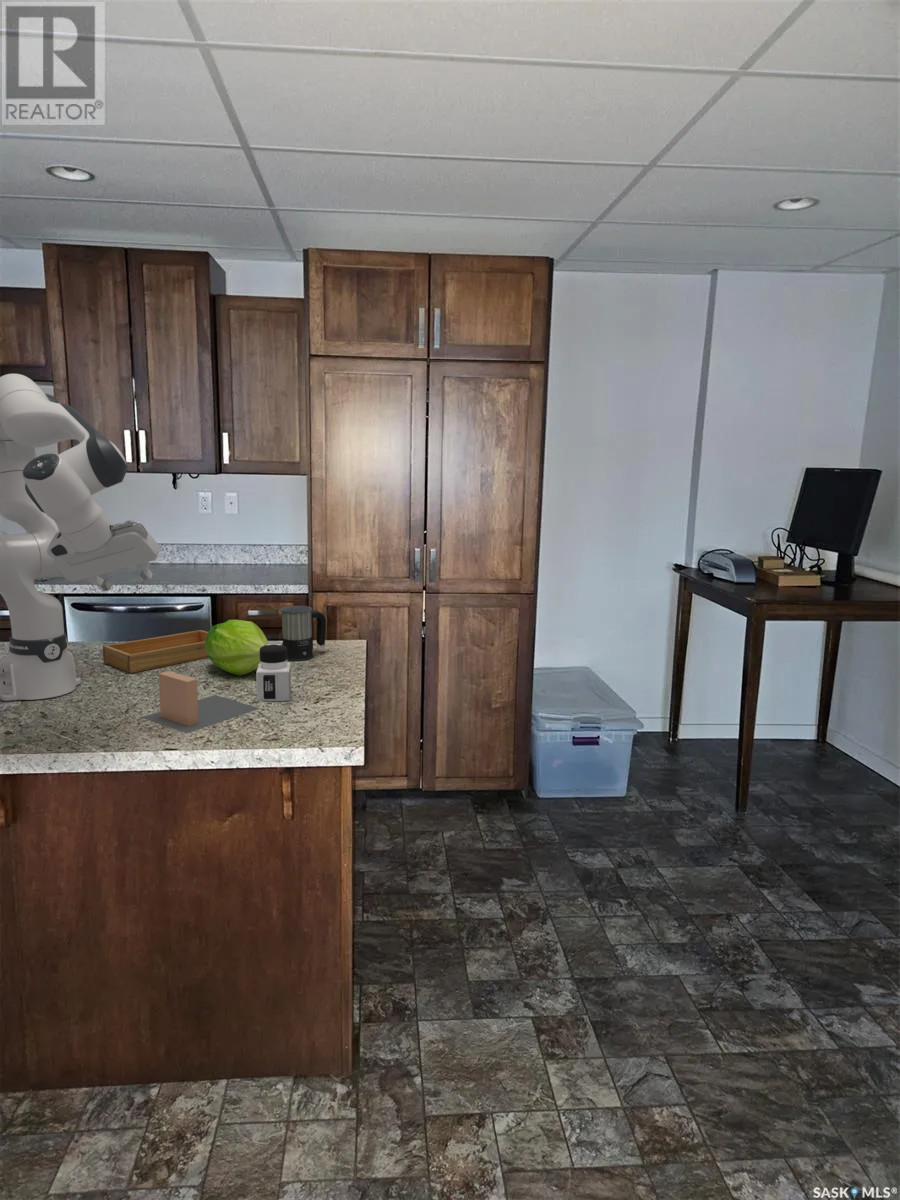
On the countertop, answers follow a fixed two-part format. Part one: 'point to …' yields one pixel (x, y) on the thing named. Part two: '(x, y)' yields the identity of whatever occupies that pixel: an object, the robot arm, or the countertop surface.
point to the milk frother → (301, 631)
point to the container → (273, 674)
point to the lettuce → (235, 646)
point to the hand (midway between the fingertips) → (128, 583)
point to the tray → (156, 651)
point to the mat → (207, 713)
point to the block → (178, 698)
